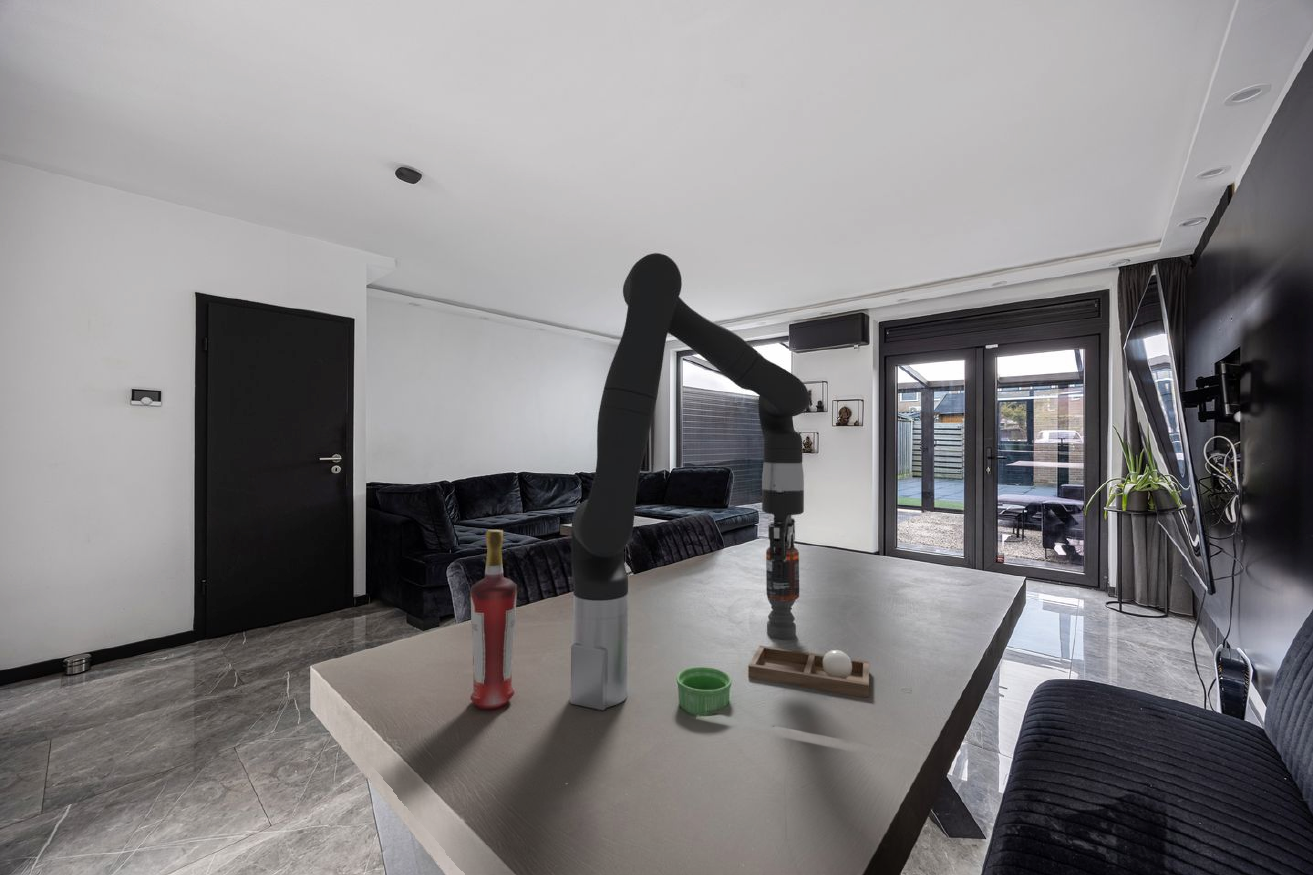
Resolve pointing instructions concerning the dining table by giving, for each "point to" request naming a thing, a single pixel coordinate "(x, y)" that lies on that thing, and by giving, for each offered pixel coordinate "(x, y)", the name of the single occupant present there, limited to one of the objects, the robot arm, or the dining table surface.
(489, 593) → the liquor
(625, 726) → the dining table surface
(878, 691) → the dining table surface
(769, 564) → the supplement bottle
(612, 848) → the dining table surface
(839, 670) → the egg
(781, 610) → the grey turned candlestick
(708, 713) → the ramekin
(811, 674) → the holder
